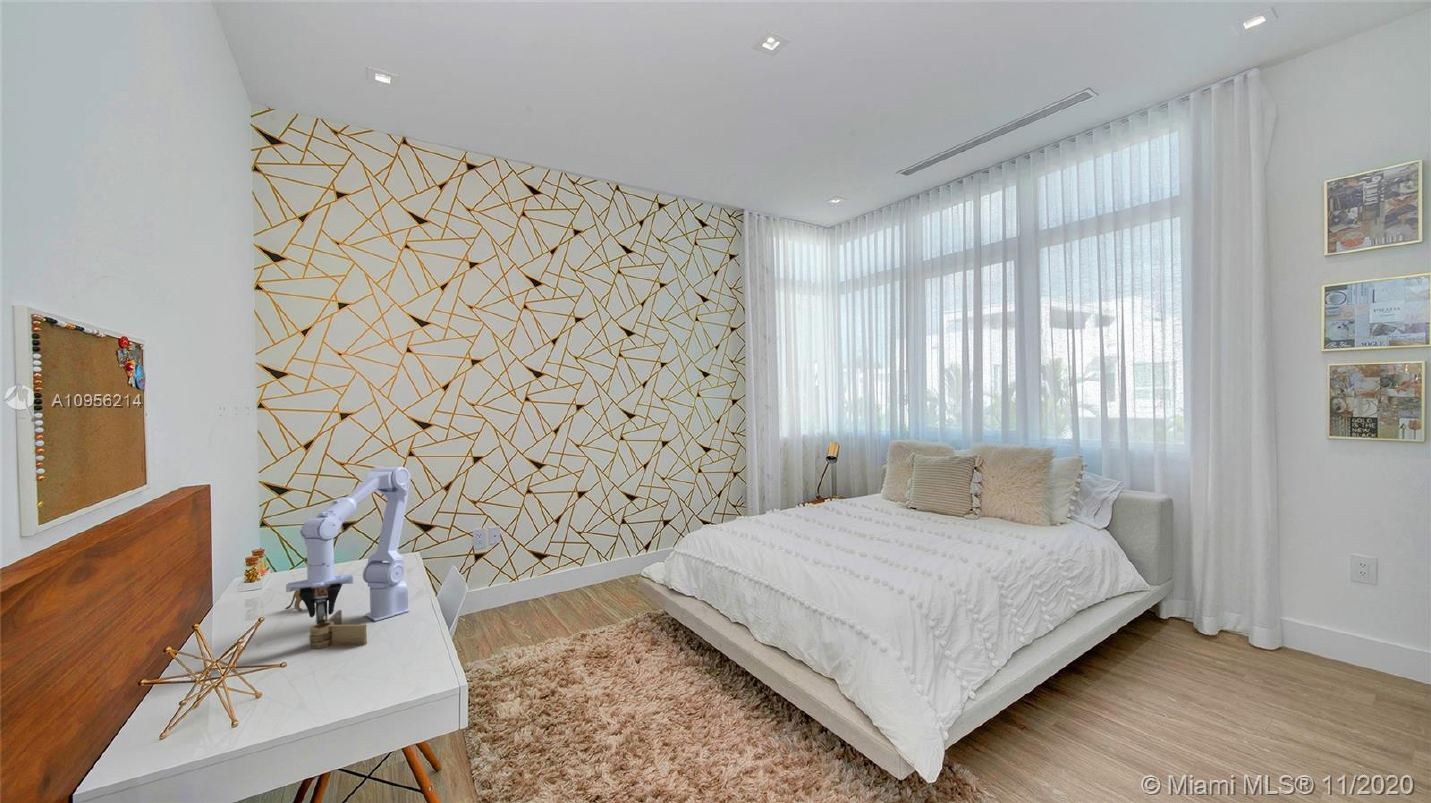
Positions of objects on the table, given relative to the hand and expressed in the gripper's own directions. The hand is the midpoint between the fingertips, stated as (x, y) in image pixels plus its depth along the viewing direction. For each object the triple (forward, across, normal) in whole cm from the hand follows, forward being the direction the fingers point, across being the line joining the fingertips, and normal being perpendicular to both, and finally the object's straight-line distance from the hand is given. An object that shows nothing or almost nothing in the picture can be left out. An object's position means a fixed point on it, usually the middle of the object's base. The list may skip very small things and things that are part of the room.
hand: (321, 614), depth 142 cm
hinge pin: (+2, 0, 0) cm, 2 cm away
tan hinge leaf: (+8, +4, -2) cm, 9 cm away
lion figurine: (+8, -9, +34) cm, 36 cm away
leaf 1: (+8, +1, +5) cm, 9 cm away
